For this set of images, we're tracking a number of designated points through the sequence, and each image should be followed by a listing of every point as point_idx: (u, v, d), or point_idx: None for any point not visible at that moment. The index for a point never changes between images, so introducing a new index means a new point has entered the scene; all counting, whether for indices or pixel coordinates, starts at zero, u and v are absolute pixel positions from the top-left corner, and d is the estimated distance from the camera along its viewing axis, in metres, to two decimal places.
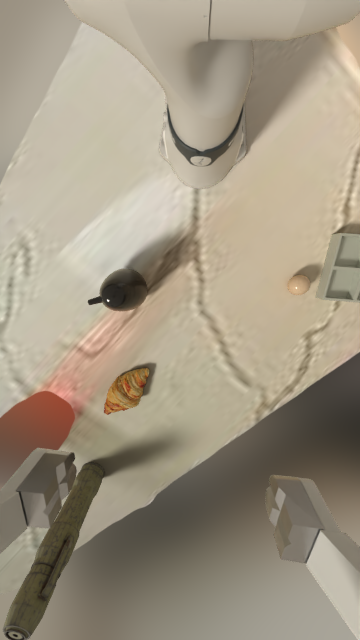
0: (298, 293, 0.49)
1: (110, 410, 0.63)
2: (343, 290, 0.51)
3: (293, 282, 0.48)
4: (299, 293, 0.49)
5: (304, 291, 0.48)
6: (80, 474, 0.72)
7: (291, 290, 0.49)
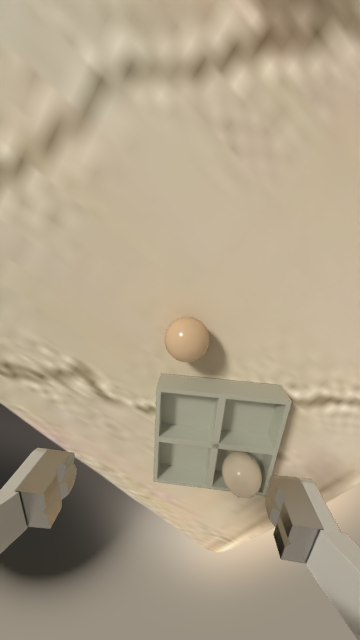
0: (168, 340, 0.20)
1: None
2: (175, 416, 0.27)
3: (194, 325, 0.20)
4: (168, 342, 0.20)
5: (173, 352, 0.20)
6: None
7: (175, 324, 0.21)
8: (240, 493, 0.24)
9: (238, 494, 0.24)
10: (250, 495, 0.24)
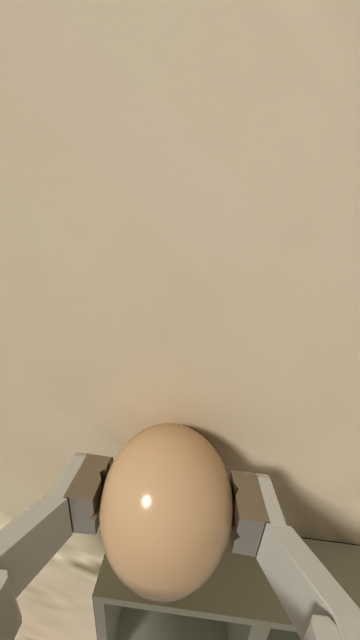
0: (103, 531, 0.06)
1: None
2: None
3: (187, 493, 0.06)
4: (104, 538, 0.06)
5: None
6: None
7: (125, 479, 0.06)
8: None
9: None
10: None
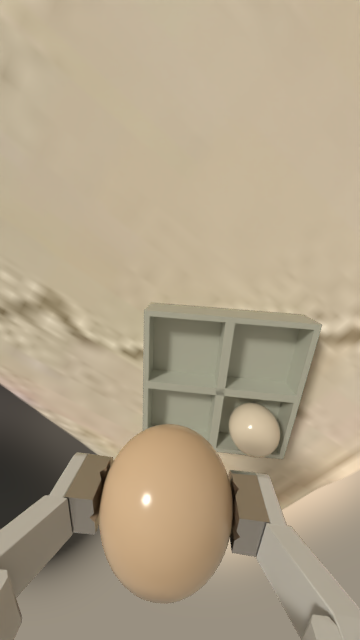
0: (103, 532, 0.06)
1: None
2: (170, 359, 0.21)
3: (187, 494, 0.06)
4: (103, 539, 0.06)
5: None
6: None
7: (125, 479, 0.06)
8: (253, 449, 0.18)
9: (250, 451, 0.18)
10: (266, 452, 0.18)
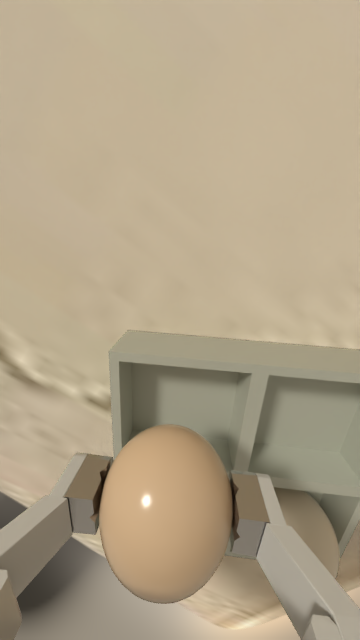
0: (103, 532, 0.06)
1: None
2: (159, 417, 0.14)
3: (187, 494, 0.06)
4: (103, 540, 0.06)
5: None
6: None
7: (125, 480, 0.06)
8: None
9: None
10: None
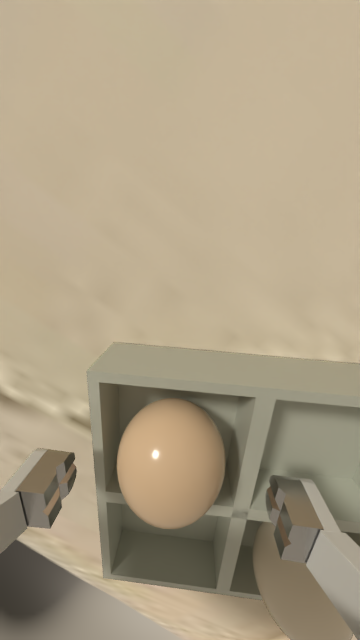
0: (121, 476, 0.08)
1: None
2: None
3: (188, 444, 0.08)
4: (121, 482, 0.08)
5: (134, 510, 0.08)
6: None
7: (138, 435, 0.08)
8: None
9: None
10: None
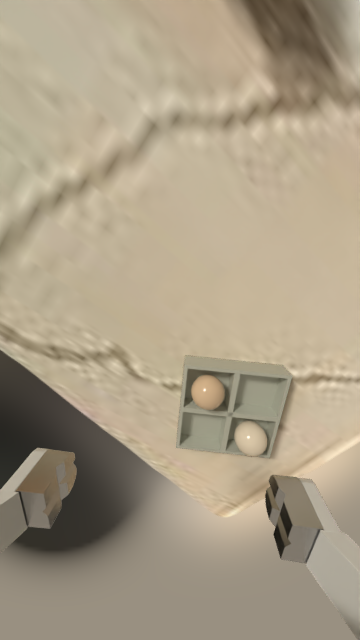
0: (195, 394, 0.28)
1: None
2: None
3: (214, 385, 0.28)
4: (195, 396, 0.28)
5: (198, 403, 0.28)
6: None
7: (200, 383, 0.28)
8: (250, 451, 0.29)
9: (249, 452, 0.29)
10: (258, 453, 0.29)
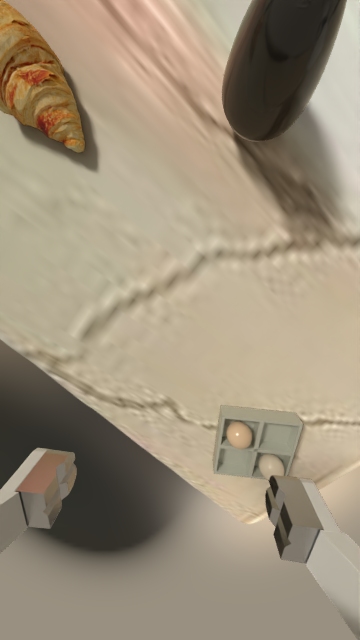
0: (230, 438, 0.39)
1: None
2: None
3: (245, 432, 0.38)
4: (230, 439, 0.38)
5: (233, 445, 0.38)
6: None
7: (233, 430, 0.39)
8: None
9: None
10: None
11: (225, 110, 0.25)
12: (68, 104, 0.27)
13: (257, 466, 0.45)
